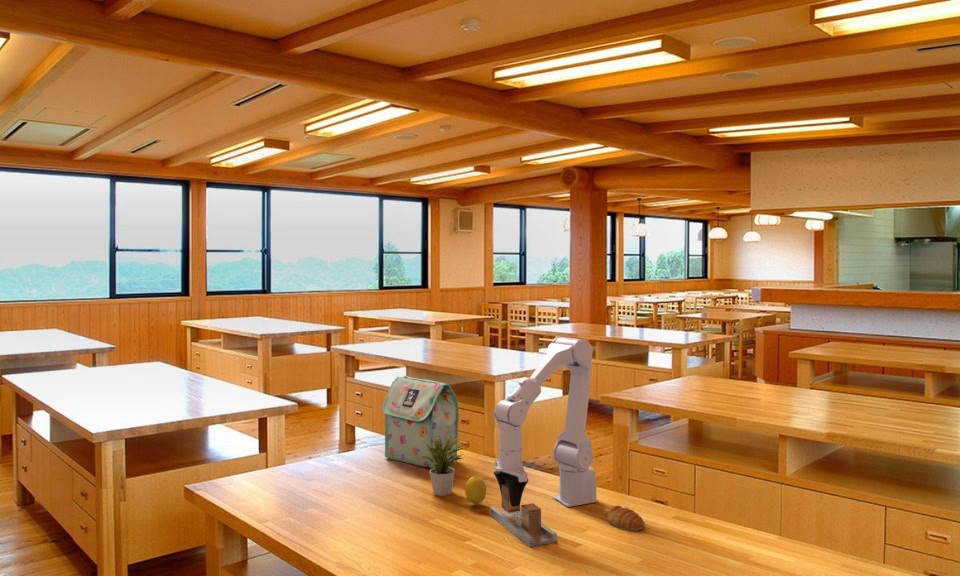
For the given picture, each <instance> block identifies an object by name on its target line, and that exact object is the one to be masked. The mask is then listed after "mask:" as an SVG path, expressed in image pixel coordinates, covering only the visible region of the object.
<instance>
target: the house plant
mask: <svg viewBox="0 0 960 576" xmlns="http://www.w3.org/2000/svg"><path fill="white" fill-rule="evenodd" d="M451 437H452V435H451V436H450V438H449V439H448V441H447V443H446V444H445V446H444V449H442V442H441V439H440V436H439V441H438V439H437V437H435V443H434V444H435V448H433V447H430V446H429V445H428V444H427V443H425V442H424V443H425V444H426V445H427V447H428V448H429V450H430V451H431V452H432V454H433V455H432V456H433V457H434V459H435V461H436V463H435V462H434V461H433V460H432V459H431V458H429V457H427V456H421V458H425V459H428V460H430V461H431V467H429V468H430V470H429V477H430V483H431V487H432V492H433V495H435V496H441V497H442V496H450V495H451V494H452V492H453V486H454V477H455V473H456V470H455V468H453V467H451V466H452V464H453V463H454V464H456V465H457V466H458V467H459V466H460V465H459V462H458V460H463V457H462V456H463V454H460V455H458V454H457V455H453V456H450V455H452V454H453V453H454V452H456V451H457V452H458V451H461V450H464V449H465V450H466V449H467V447H462V445H464V444H468V443H469V442H462V443H459V444H457V446H454V448H453V449H452V450H451V448H452V447H453V445H454V442H455V441H456V440H457V438H456V439H454V440H453V441H452V442H451V443H450V440H451ZM458 438H459V437H458ZM449 443H450V444H449ZM456 447H457V448H456ZM455 448H456V449H455ZM426 449H427V448H426ZM454 449H455V450H454ZM427 450H428V449H427ZM429 450H428V451H429ZM450 450H451V451H450ZM430 451H429V452H430ZM431 452H430V453H431ZM449 456H450V457H449ZM456 456H457V458H454V459H453V460H451V459H452V458H453V457H456ZM448 458H449V459H448ZM450 460H451V461H450ZM456 460H457V461H456ZM449 461H450V462H449ZM434 465H435V467H434ZM432 467H434V468H432Z"/></svg>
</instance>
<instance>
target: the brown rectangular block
mask: <svg viewBox="0 0 960 576" xmlns="http://www.w3.org/2000/svg"><path fill="white" fill-rule="evenodd" d="M501 485H502V495H501V509H502V510H505V511H507V512H508V513H511V512H517V511H520V507H521V504H520V505H519V506H511V503H510V496H509V490H508V486H507V484H501Z"/></svg>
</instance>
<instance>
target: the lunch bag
mask: <svg viewBox="0 0 960 576" xmlns="http://www.w3.org/2000/svg"><path fill="white" fill-rule="evenodd" d="M457 398H458V397H457V396H456V393H455V392H454V389H452V386H451V385H450V384H448V383H444V382H439V381H434V380H431V379H425V378H422V379H421V378H417V377H416V378H415V377H410V376H407V375H404V376H396V377H395V378H394V380H392V382H391V384H390V386H389V389H388V391H387V393H386V396H385V398H384V401H383V404H382V406H381V410H382V412H383V414H384V457H385V459H386V458H387V459H391V460H394V461H398V462H404V463H407V464H411V465H416V466H419V467H424V468H430V467H431V461H430V460H428V459H425V458H421V456H427V457H429V458H431V459H432V460H433V461H434V462H435V463H436V461H435V459H434V457H433V456H432V455H433V454H432V452H431V451H430V450H429V448H428V447H427V445H426V444H425V443H427V444H428V445H429V446H430V447H433V448H435V444H434V443H435V437H437V439H438V441H439V436H440V439H441V442H442V449H444V446H445V444H446V443H447V441H448V439H449V438H450V436H451V435H452V437H451V440H450V443H451V442H452V441H453V440H454V439H456V438H457V440H456V441H455V442H454V445H453V447H452V448H451V450H452V449H453V448H454V446H457V445H458V440H459V439H458V436H459V417H460V413H459V411H460V410H459V402H458V401H459V400H458V399H457ZM424 442H425V443H424ZM450 443H449V444H450ZM426 448H427V449H428V450H429V451H430V452H431V453H430V452H429V451H428V450H427V449H426ZM456 448H457V447H456ZM456 448H455V449H456ZM455 449H454V450H455ZM457 449H458V448H457ZM451 450H450V451H451ZM453 455H458V451H456V452H454V453H453V454H452V455H450V456H453ZM450 456H449V457H450ZM457 457H458V456H456V457H453V458H452V459H451V460H453V459H454V458H457ZM448 459H449V458H448ZM451 460H450V461H451ZM450 461H449V462H450ZM456 461H457V462H458V460H456ZM433 468H435V465H434V467H432V468H431V469H433Z"/></svg>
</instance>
